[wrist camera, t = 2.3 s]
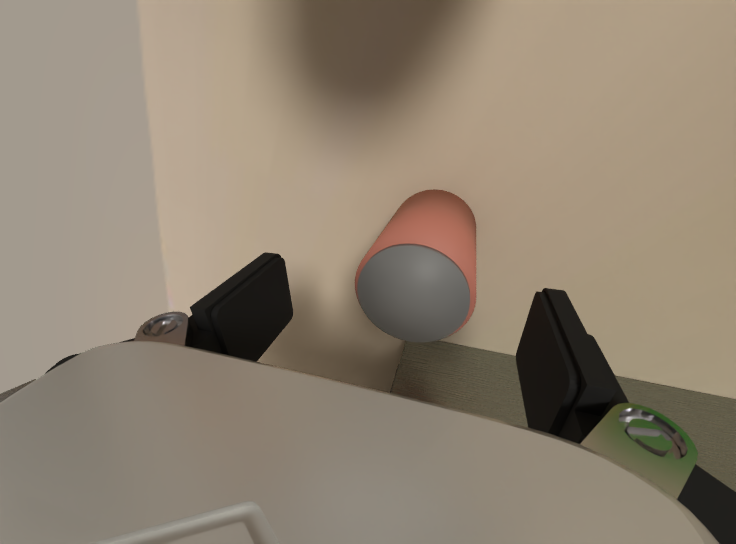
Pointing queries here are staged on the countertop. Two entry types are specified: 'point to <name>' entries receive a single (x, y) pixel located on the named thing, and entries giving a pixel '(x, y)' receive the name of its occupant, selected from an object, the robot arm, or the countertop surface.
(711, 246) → the countertop surface
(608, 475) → the robot arm
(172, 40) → the countertop surface
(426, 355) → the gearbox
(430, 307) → the oil can
